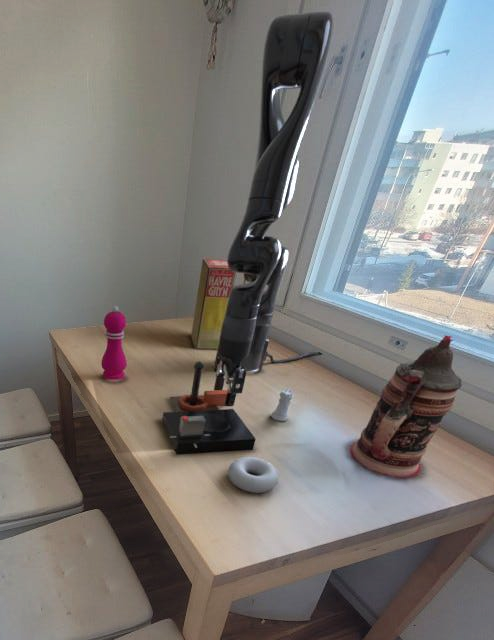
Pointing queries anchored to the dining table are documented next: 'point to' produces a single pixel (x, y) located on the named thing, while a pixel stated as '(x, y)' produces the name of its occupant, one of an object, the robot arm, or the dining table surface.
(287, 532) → the dining table surface
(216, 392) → the hanging ring
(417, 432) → the beer stein
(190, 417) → the knob
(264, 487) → the donut
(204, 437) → the stove
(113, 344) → the pepper mill
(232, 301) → the robot arm
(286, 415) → the rook chess piece
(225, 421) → the burner
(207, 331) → the food packaging
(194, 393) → the peg stand
